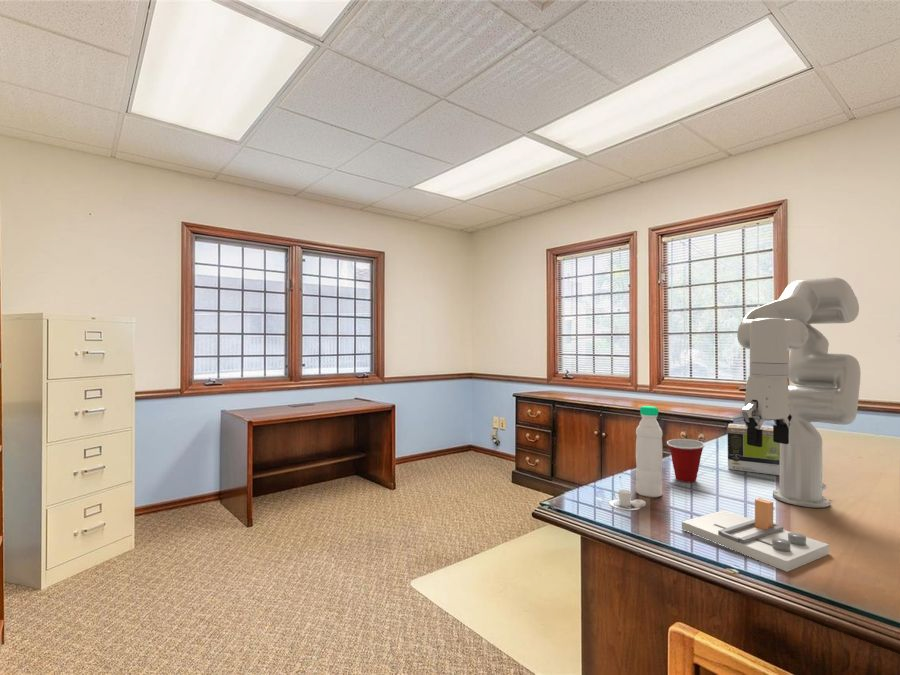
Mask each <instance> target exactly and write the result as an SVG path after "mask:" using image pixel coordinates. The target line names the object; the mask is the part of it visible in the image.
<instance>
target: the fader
mask: <svg viewBox="0 0 900 675" xmlns="http://www.w3.org/2000/svg"><path fill="white" fill-rule="evenodd" d="M754 519H755V527H758V528H761V529H764V530H765V529H768V528H771V527H773V523H774V501H771V500H768V499H764V498H761V497H760V498H756V499H754Z"/></svg>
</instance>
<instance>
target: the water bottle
mask: <svg viewBox="0 0 900 675" xmlns="http://www.w3.org/2000/svg"><path fill="white" fill-rule="evenodd" d="M639 412H640V417H641V419H640V421H639V423H638V425H637V427H636V429H635V434H636V440H635V441H636V442H635V465H636V468H635V479H636V480H635V492H636V494H638V495H639V496H642V497H646V498H659V497H661V496H662V495H663V484H662V483H663V471H662V470H663V469H662V467H663V439H662V438H663V430H662V427H661V426H660V424H659V422H658V420H657V418H658V415H659V409H658V407H657V406H652V405H643V406H641V407H640V410H639Z"/></svg>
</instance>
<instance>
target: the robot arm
mask: <svg viewBox="0 0 900 675" xmlns="http://www.w3.org/2000/svg"><path fill="white" fill-rule="evenodd" d="M782 291H783V292H782V293H781V295H780V296H779V297H778V299H777V300H774V301H772V302H769V303H766V304H764V305H761V306H758V307H756V308H754V309H752V310H750V311H749V312H748V313H747V314H745V316H744V317H743V318H742V319H741V322H740V323H739V326H738V329H737V334H736V338H737V341H738V343H739V345H741V347H742V348H745V349H748V350H749V375H748V378H747V381H746V386H745V387H746V388H745V393H744V394H745V396H744V407H743V408H742V409H741V413H742V417H743V421H744V423H745V424H744V425H745V426H746V427H747V444H748V445H751V446H756V447H762V441H763V430H762V429H760V428H761V426H763V424H764V423H765V422H766V421H773V422H774V424H773V426H772V427H773V441H774V442H777V443H779V445H780V446H779V475H778V478H779V482H778V483H779V484H778V485H779V486H778V487H779V488H778V489H774V490H772V496H773V497H774V498H775V499H776V500H779V501H781V502H783V503H786V504H790V505H795V506H799V507H805V508H817V509H819V508H821V509H822V508H828V507H829V506H830V499H828V498H827V497H825V496H824V495H823V491H824V490H826V489H827V484H825V483H824V482H823V439H822V438H823V437H822V435H821V433H820V432H819V431H818V430H817V428H816V427H815V425H813V424H812V423H821V424H822V423H823V424H831V425H850V424H852V423H853V422H854V421H855V420H856V417H857V414H858V407H859V397H860V385H861V367H860V363H859V360H858V359H857V358H856V357H855V356H853V355H850V354H846V353H845V354H844V353H829V352H828V351H829V347H830V346H829V345H830V343H829V340H828V339H827V337H826V336H825V335H824V334H823V333H822V332H821V331H820V330H819V329H817V328H815V327H814V326H812V325H814V324H817V325H819V324H820V325H824V324H849V323H851V322H854V321H855V320H856V319H857V317H858V315H859V312H860V305H859V304H860V303H859V300H858V297H857V296H856V294H855V292H854V290H853V287H852V286H851V285H850V283H849V282H847V281H846V280H845V279H843V278H840V277H826V278H825V277H824V278H811V279H801V280H795V281H793V282H790V284H788V285H787V286H786V287H785V289H784V290H782ZM789 352H790V355H789ZM788 380H789V381H790V382H791V383H792V385H789V381H788ZM793 384H794V385H793Z"/></svg>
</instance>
